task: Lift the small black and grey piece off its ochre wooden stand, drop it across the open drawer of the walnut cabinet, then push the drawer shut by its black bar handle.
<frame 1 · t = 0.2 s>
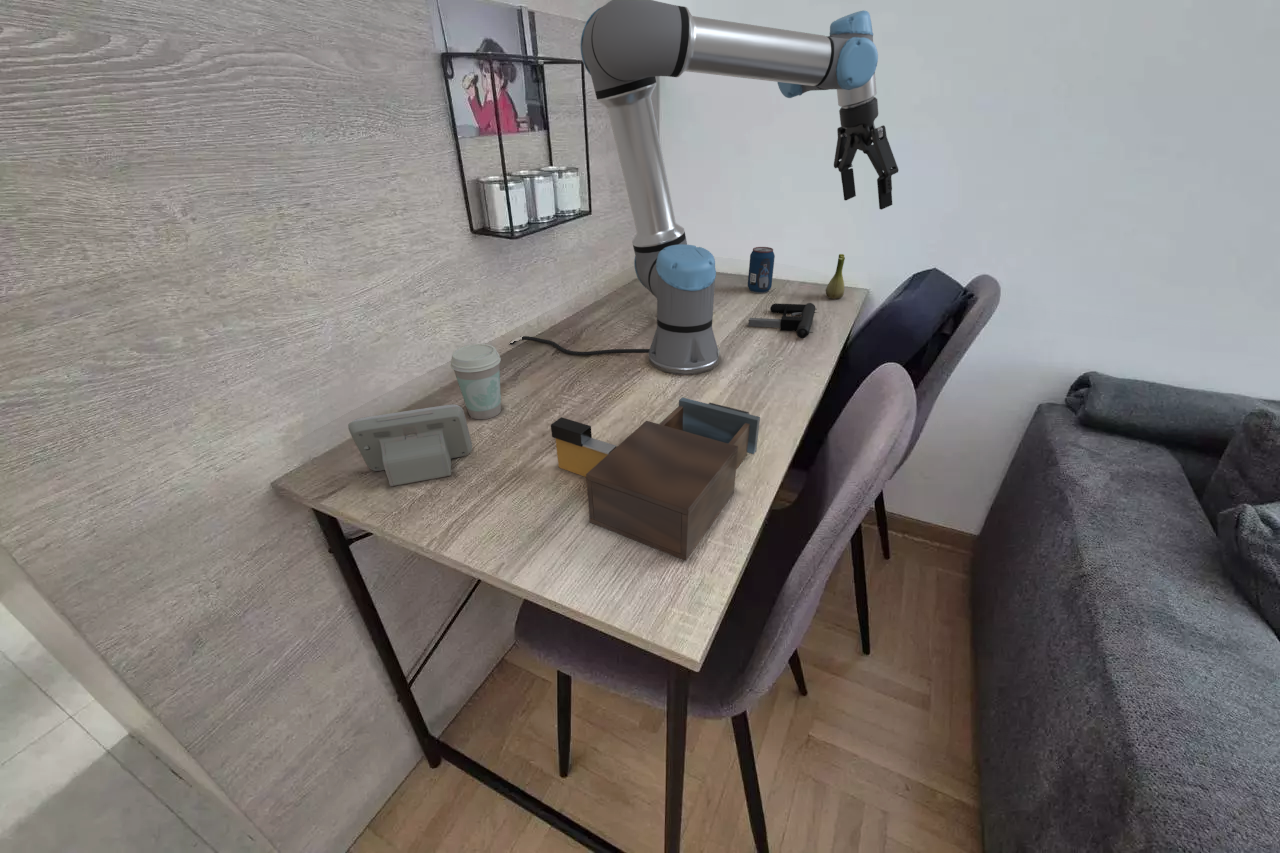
hand: (867, 202, 126), 28 cm above the table, tool tilted 20°, fingers open, 13 cm apart
soda can: (759, 291, 162), on the table
drawer: (705, 438, 84), point 4 cm above the table, slide at 9.5 cm
door handle: (782, 324, 137), on the table
knife stand: (586, 474, 83), on the table
green gourd: (833, 298, 154), on the table
digital clock: (422, 467, 86), on the table
cabinet: (664, 507, 76), on the table
coffee cup: (485, 412, 101), on the table
black and grey piece: (584, 441, 80), point 6 cm above the table, touching knife stand
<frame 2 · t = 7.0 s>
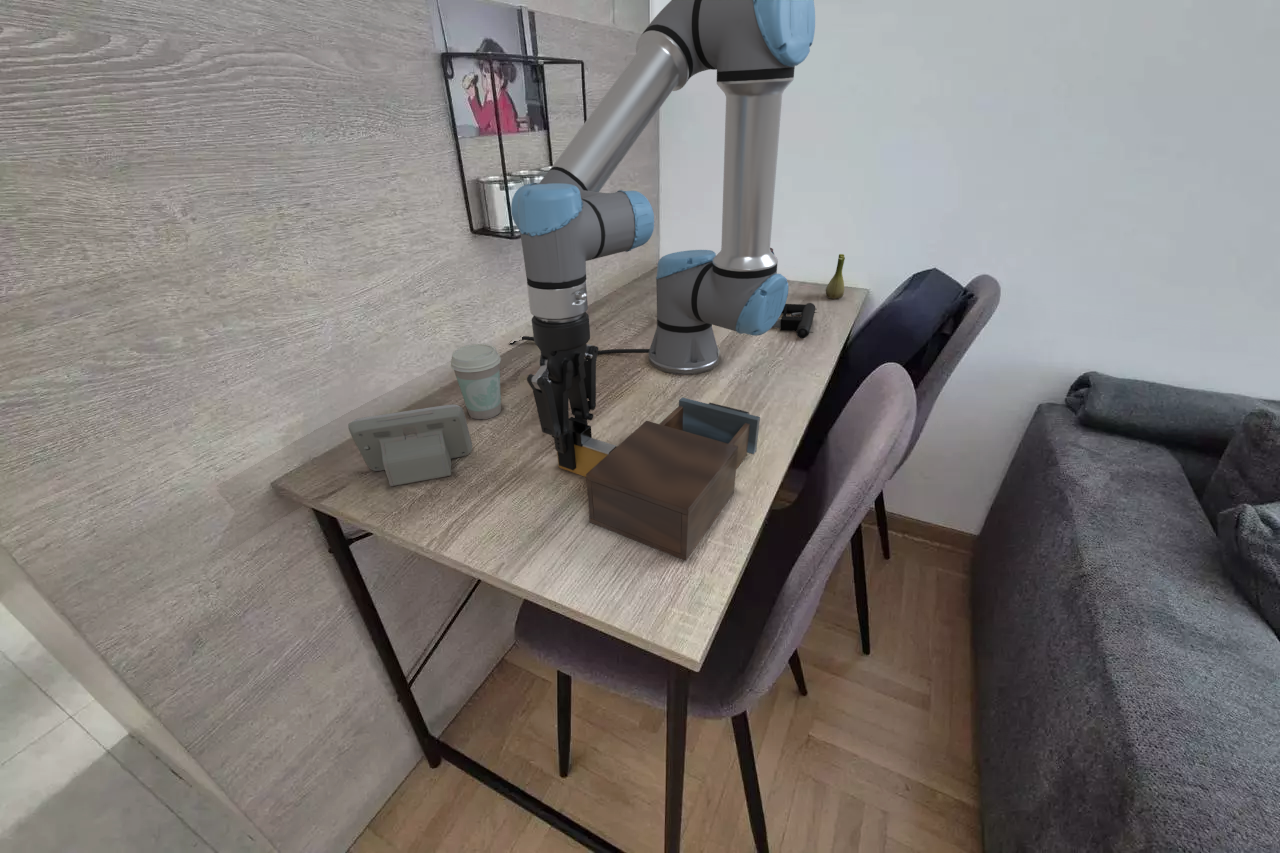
hand: (574, 460, 83), 2 cm above the table, tool pointing down, fingers closed on black and grey piece, 3 cm apart
black and grey piece: (584, 441, 80), point 6 cm above the table, touching gripper, knife stand
everything else where it was.
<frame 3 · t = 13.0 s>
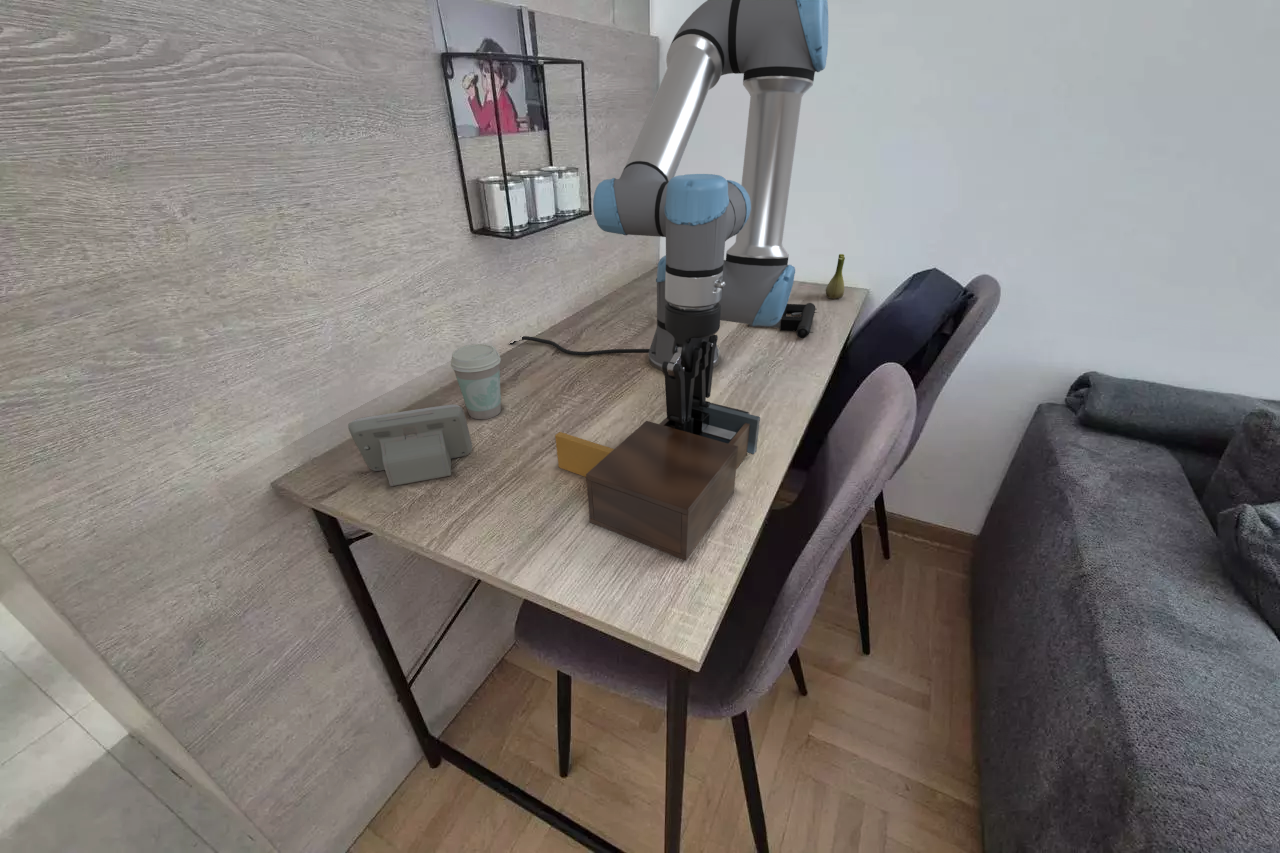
hand: (688, 448, 85), 2 cm above the table, tool pointing down, fingers closed on black and grey piece, 3 cm apart
black and grey piece: (702, 429, 82), point 6 cm above the table, touching gripper
everything else where it was.
when the fingers open (3 cm above the table, at t = 21.0 s): black and grey piece drops 5 cm, resting on drawer.
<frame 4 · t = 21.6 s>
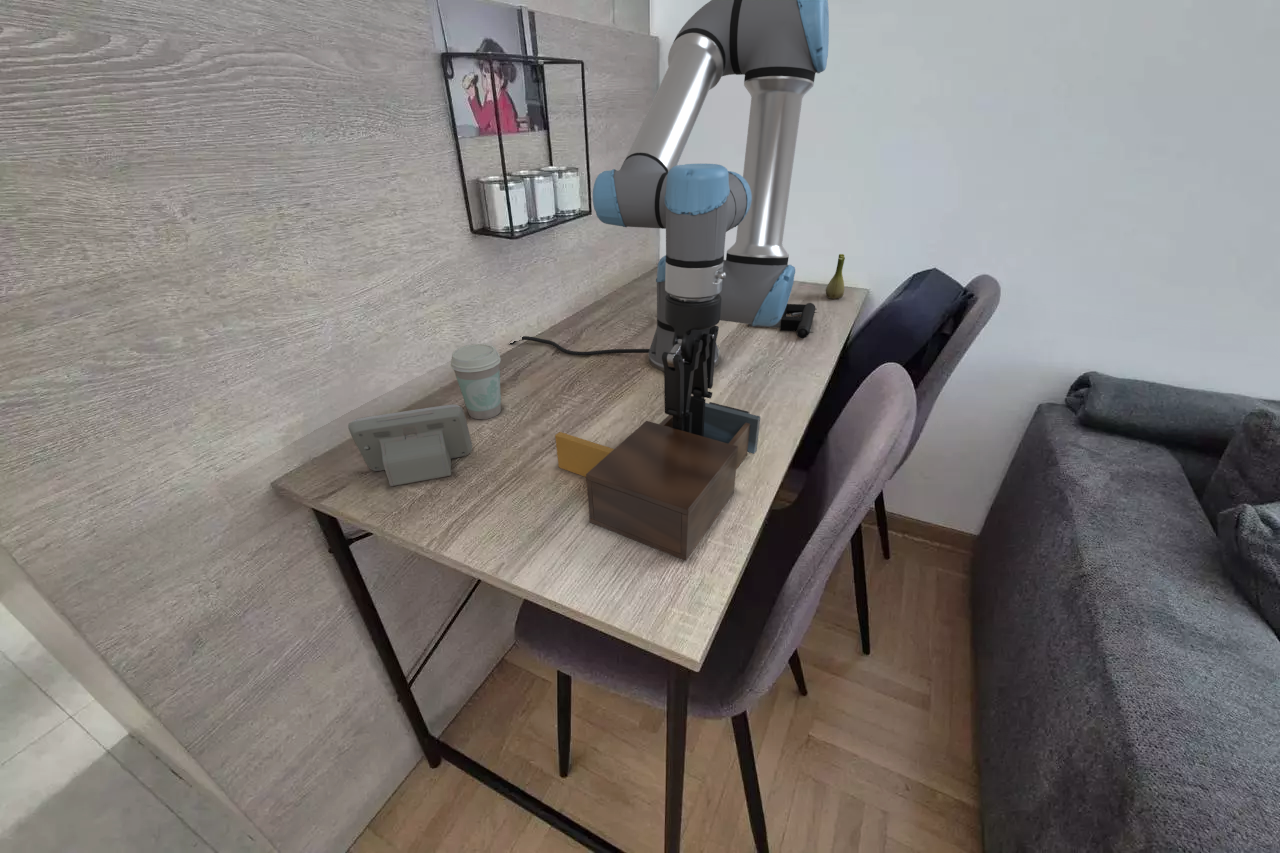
hand: (688, 441, 84), 4 cm above the table, tool pointing down, fingers open, 4 cm apart
drawer: (706, 437, 84), point 4 cm above the table, slide at 9.7 cm, touching black and grey piece
black and grey piece: (701, 453, 84), point 2 cm above the table, touching drawer
everything else where it was.
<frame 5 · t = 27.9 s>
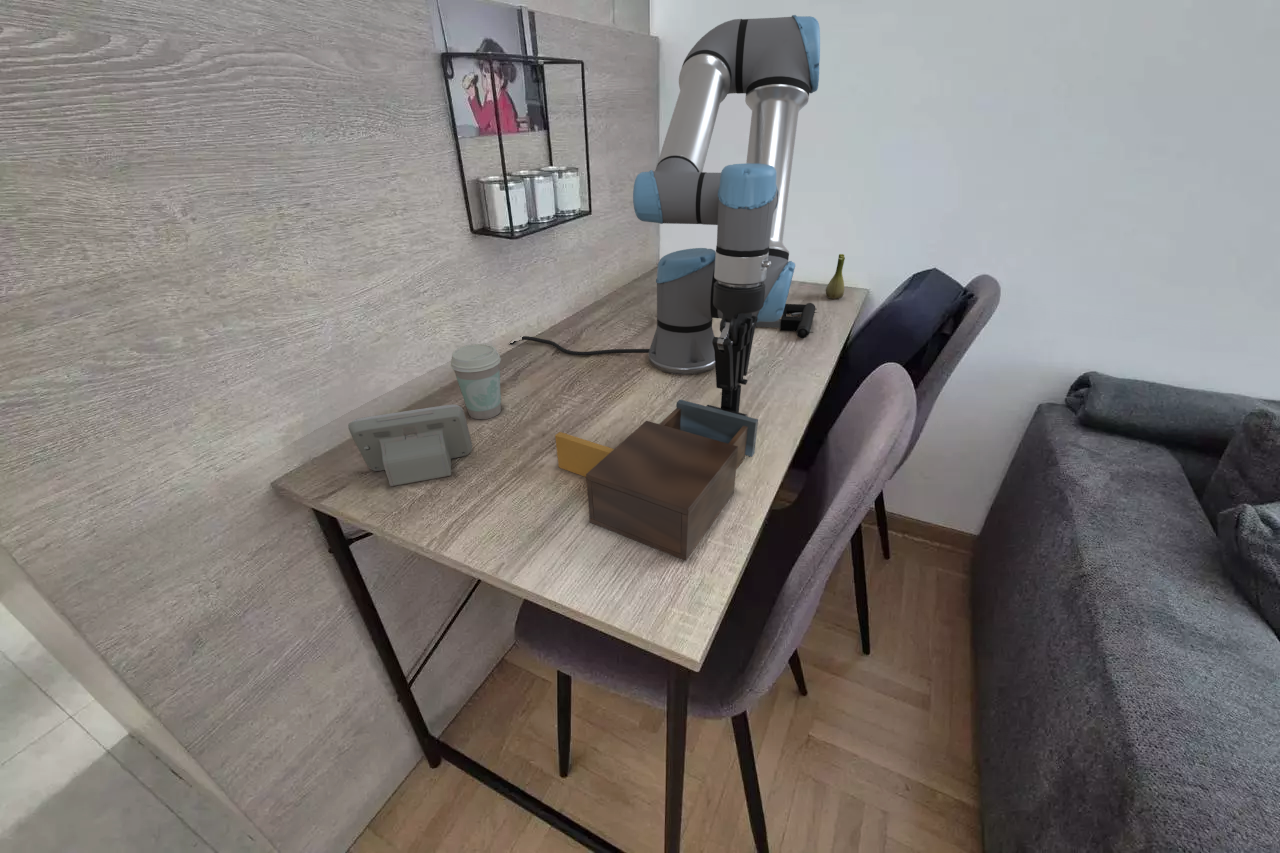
hand: (728, 419, 92), 3 cm above the table, tool pointing down, fingers closed
drawer: (703, 440, 84), point 4 cm above the table, slide at 8.7 cm, touching gripper, black and grey piece
black and grey piece: (698, 457, 83), point 2 cm above the table, touching drawer
everything else where it was.
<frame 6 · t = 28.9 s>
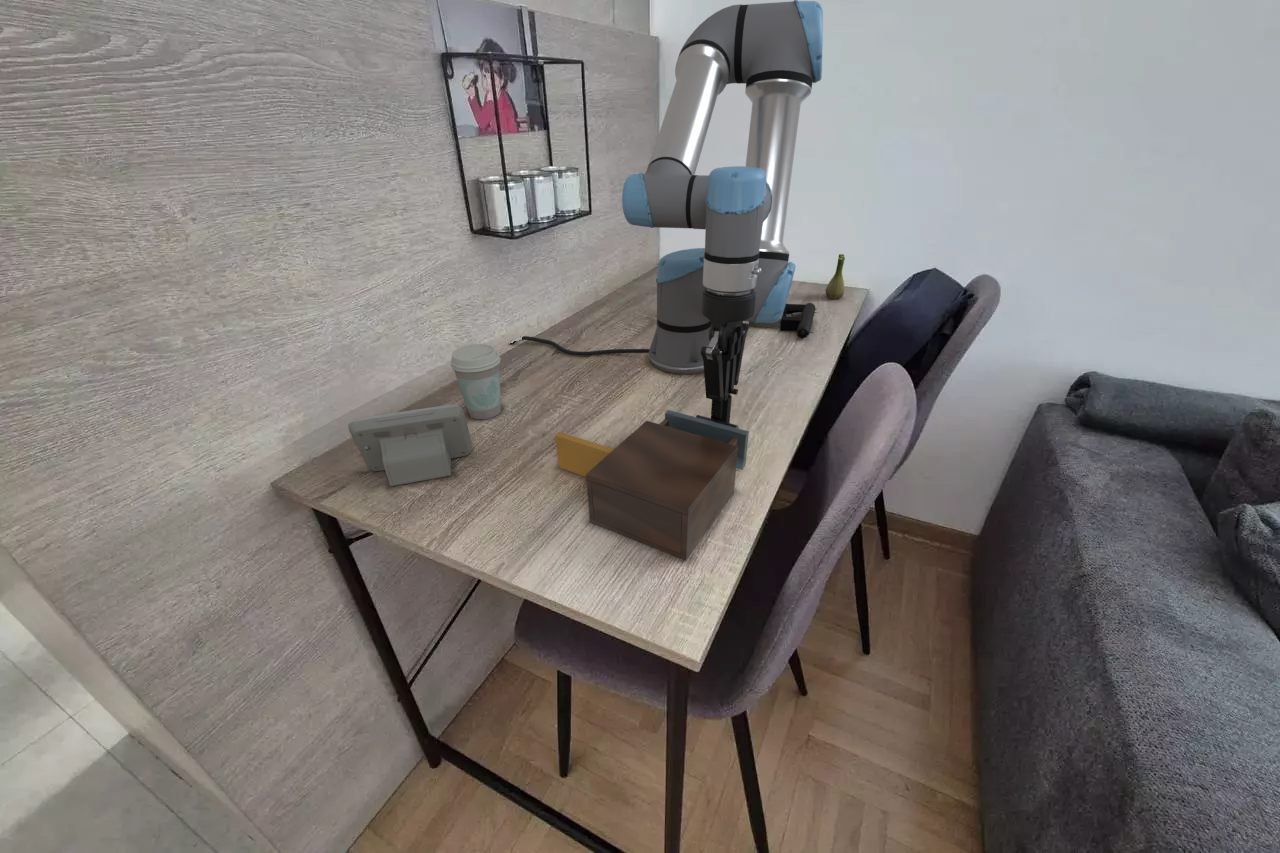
hand: (719, 430, 89), 2 cm above the table, tool pointing down, fingers closed
drawer: (692, 453, 81), point 4 cm above the table, slide at 4.7 cm, touching gripper, black and grey piece
black and grey piece: (687, 470, 80), point 2 cm above the table, touching drawer
everything else where it was.
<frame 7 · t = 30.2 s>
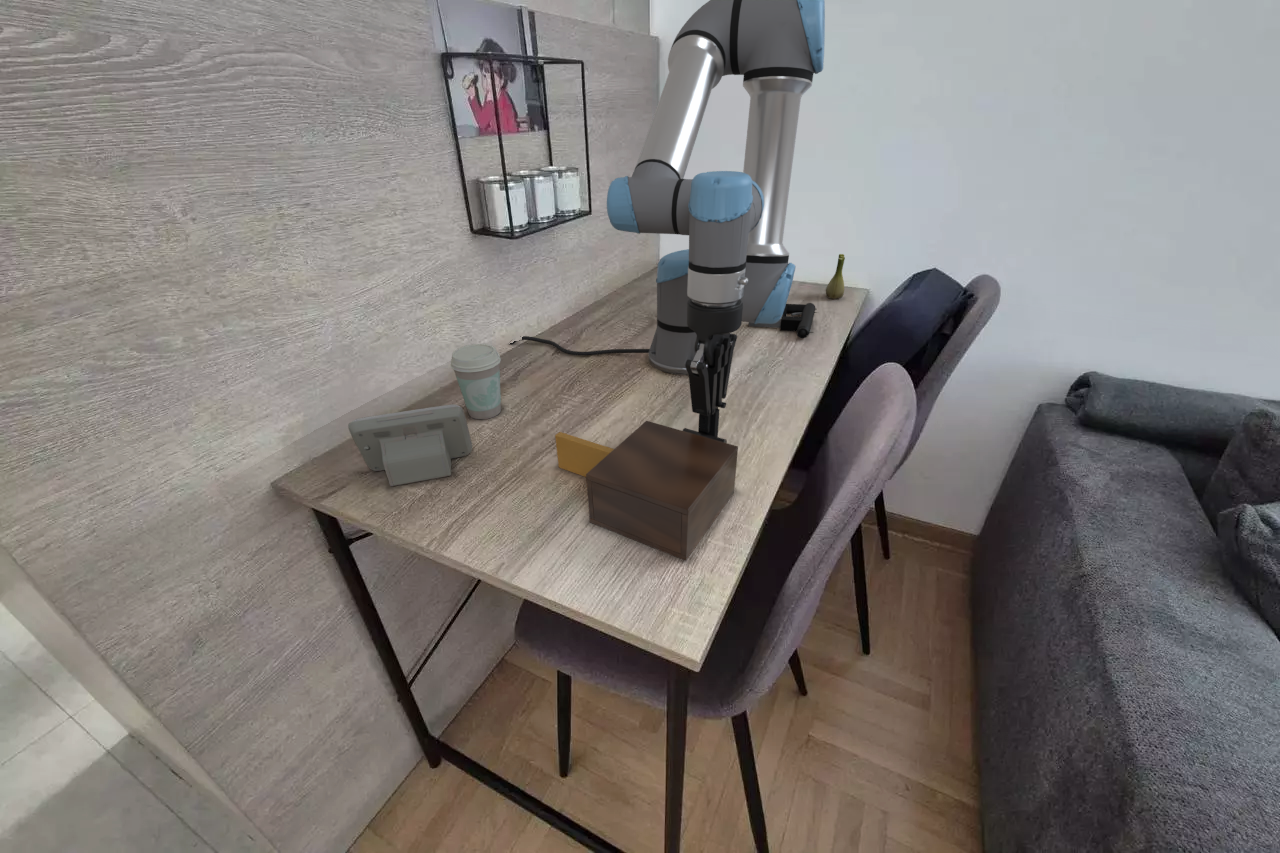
hand: (707, 444, 86), 2 cm above the table, tool pointing down, fingers closed
drawer: (677, 469, 77), point 4 cm above the table, slide at 0.0 cm, touching cabinet, gripper, black and grey piece
black and grey piece: (672, 487, 77), point 2 cm above the table, touching drawer
everything else where it was.
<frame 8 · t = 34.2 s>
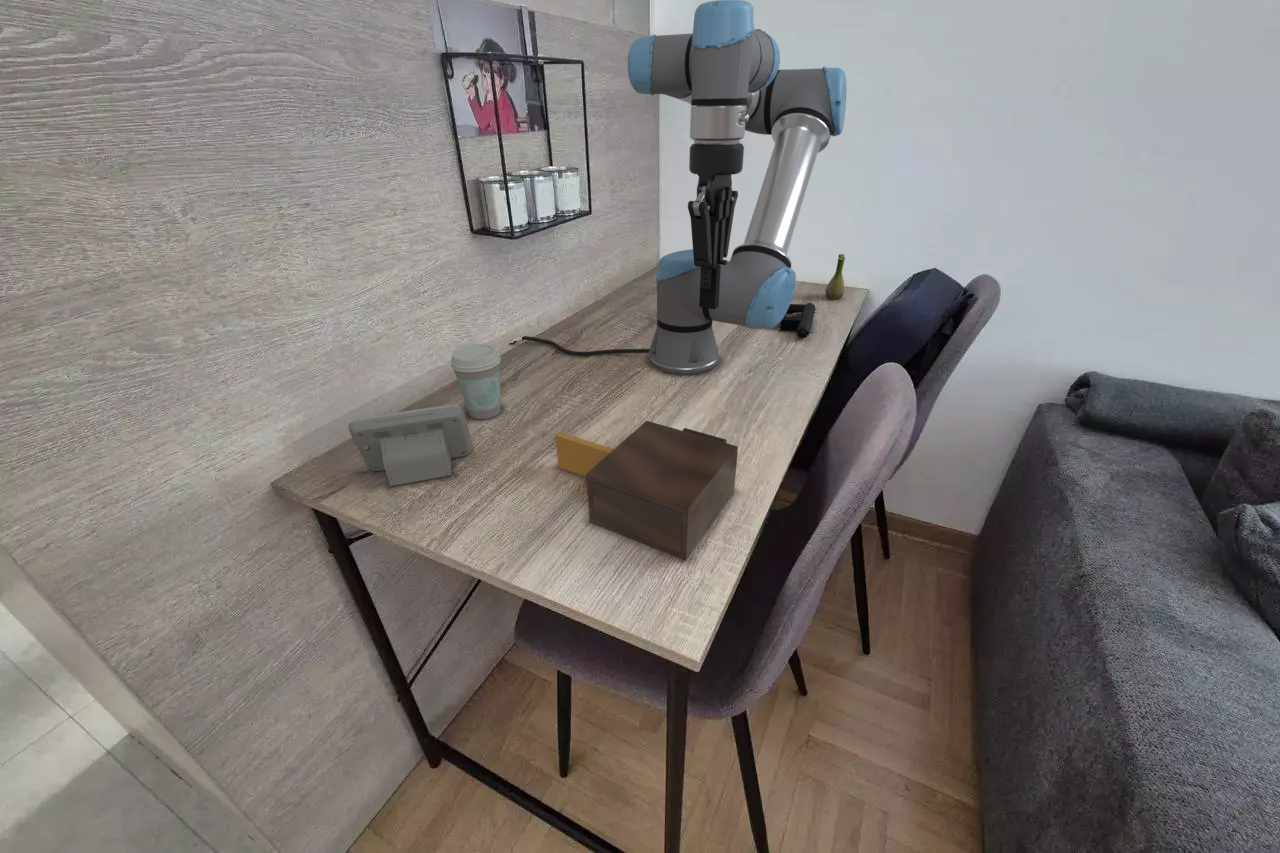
hand: (708, 306, 88), 20 cm above the table, tool pointing down, fingers closed
drawer: (677, 469, 77), point 4 cm above the table, slide at 0.0 cm, touching black and grey piece
everything else where it was.
at the end: black and grey piece inside the target area in the cabinet (2.0 cm from its centre), point 2.0 cm above the cabinet's base; drawer slide at 0.0 cm; the gripper is holding nothing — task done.
